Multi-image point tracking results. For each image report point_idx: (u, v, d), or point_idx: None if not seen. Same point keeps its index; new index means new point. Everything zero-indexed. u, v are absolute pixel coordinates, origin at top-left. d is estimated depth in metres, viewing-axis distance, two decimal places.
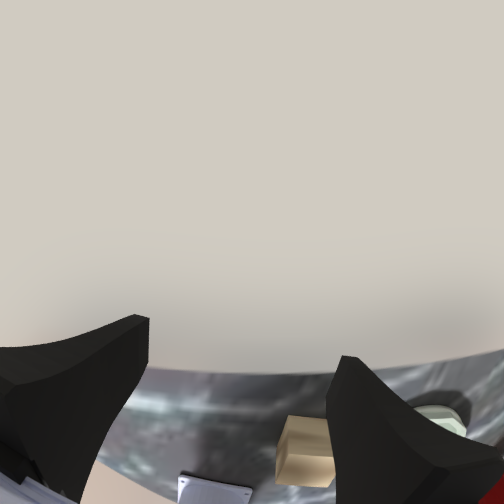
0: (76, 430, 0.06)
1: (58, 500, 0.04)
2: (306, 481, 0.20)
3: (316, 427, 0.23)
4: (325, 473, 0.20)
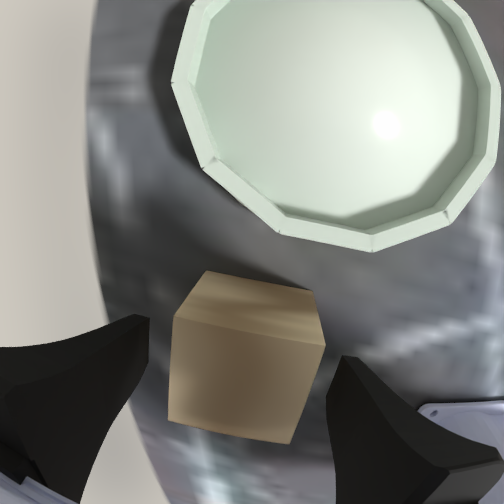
0: (76, 430, 0.06)
1: (58, 500, 0.04)
2: (284, 395, 0.09)
3: None
4: (243, 359, 0.09)
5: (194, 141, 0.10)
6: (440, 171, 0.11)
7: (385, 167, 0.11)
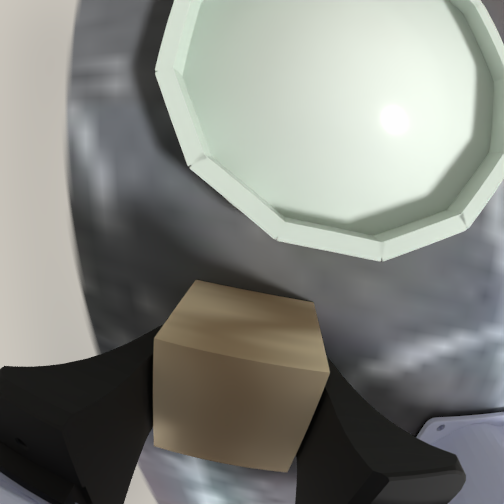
0: (120, 448, 0.06)
1: None
2: (282, 425, 0.08)
3: None
4: (235, 387, 0.08)
5: (180, 136, 0.09)
6: (456, 171, 0.09)
7: (396, 165, 0.09)
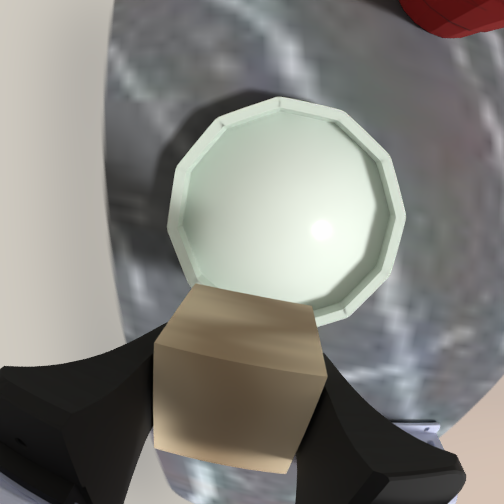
0: (120, 448, 0.06)
1: None
2: (280, 428, 0.08)
3: None
4: (234, 390, 0.08)
5: (183, 268, 0.17)
6: (348, 279, 0.18)
7: (306, 279, 0.18)
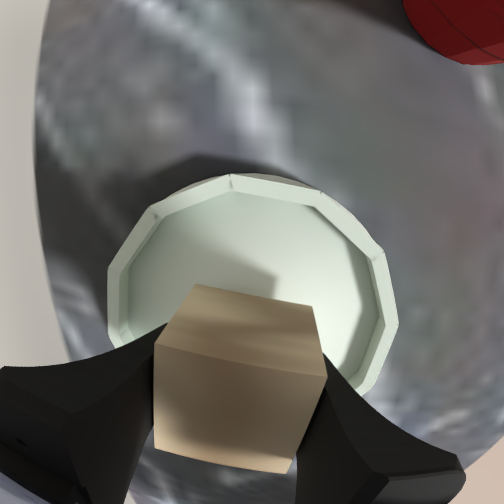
0: (120, 448, 0.06)
1: None
2: (280, 427, 0.08)
3: None
4: (234, 390, 0.08)
5: None
6: None
7: None
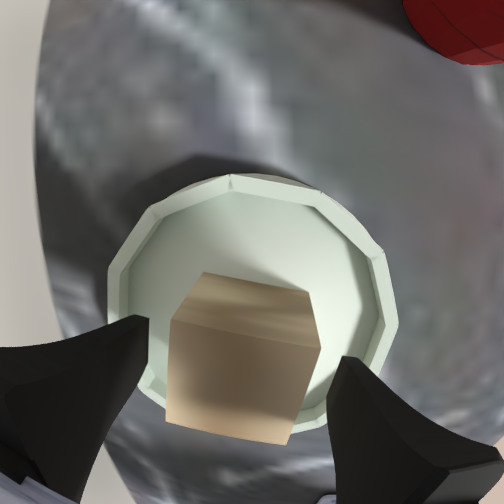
0: (76, 430, 0.06)
1: (58, 500, 0.04)
2: (280, 397, 0.09)
3: None
4: (240, 361, 0.09)
5: None
6: (323, 386, 0.14)
7: None
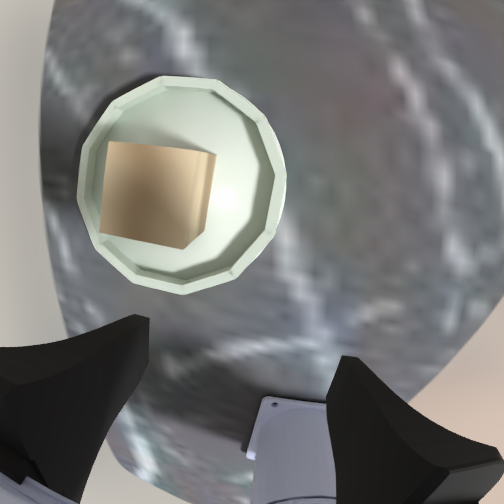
0: (76, 430, 0.06)
1: (58, 500, 0.04)
2: (174, 195, 0.14)
3: None
4: (147, 165, 0.14)
5: (90, 233, 0.18)
6: (236, 242, 0.19)
7: (195, 242, 0.19)
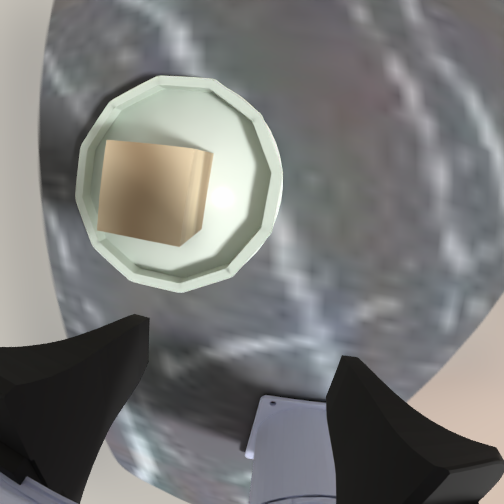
0: (76, 430, 0.06)
1: (58, 500, 0.04)
2: (170, 193, 0.14)
3: None
4: (144, 163, 0.14)
5: (88, 232, 0.18)
6: (233, 240, 0.19)
7: (193, 240, 0.19)
